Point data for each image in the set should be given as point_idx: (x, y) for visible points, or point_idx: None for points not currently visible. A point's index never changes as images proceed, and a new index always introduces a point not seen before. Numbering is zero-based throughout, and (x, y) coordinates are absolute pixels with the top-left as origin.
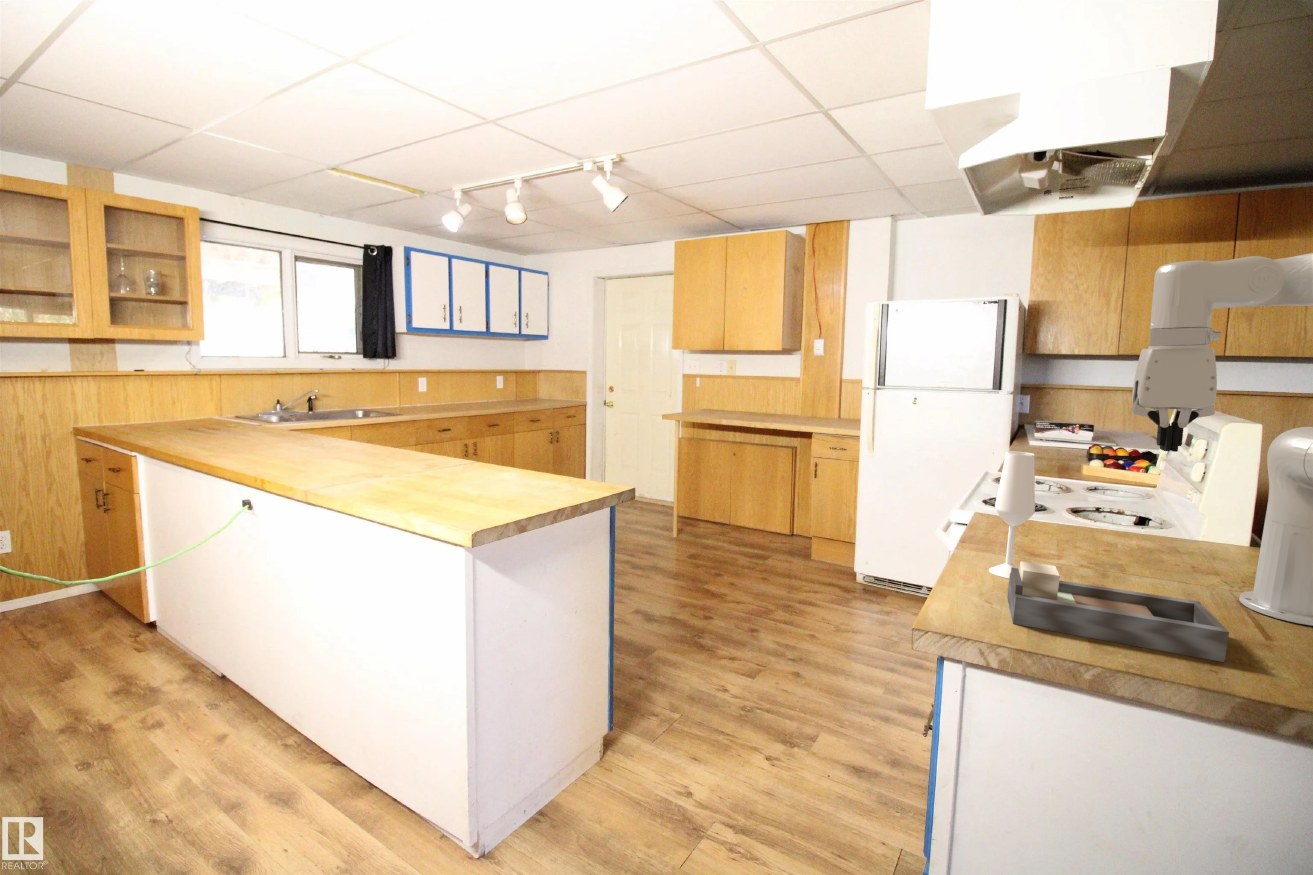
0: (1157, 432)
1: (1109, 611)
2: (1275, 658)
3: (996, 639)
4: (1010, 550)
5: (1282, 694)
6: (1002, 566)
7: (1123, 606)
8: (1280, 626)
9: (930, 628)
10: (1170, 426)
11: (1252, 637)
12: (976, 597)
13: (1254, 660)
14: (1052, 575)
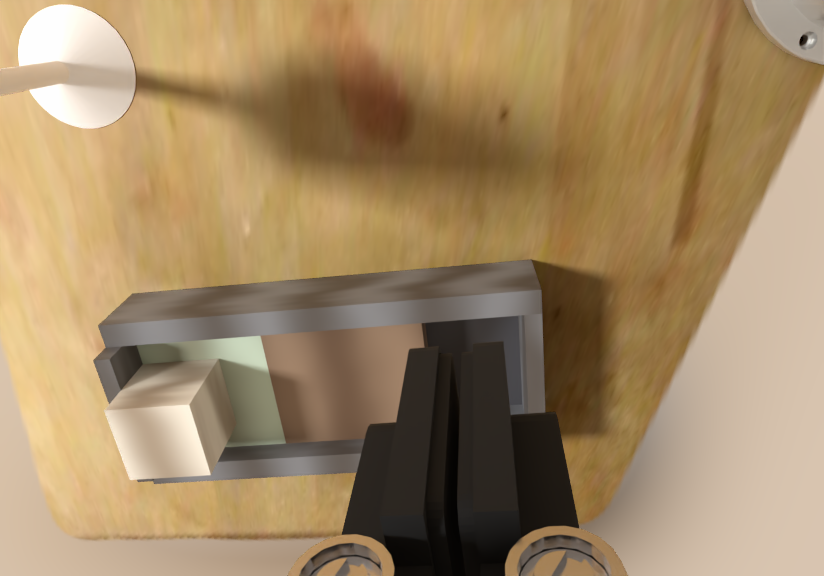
0: (351, 504)
1: (333, 468)
2: (645, 348)
3: (172, 519)
4: (30, 89)
5: (588, 496)
6: (49, 87)
7: (371, 349)
8: (760, 111)
9: (66, 531)
10: (478, 543)
11: (647, 245)
12: (75, 335)
13: (598, 380)
14: (196, 473)
